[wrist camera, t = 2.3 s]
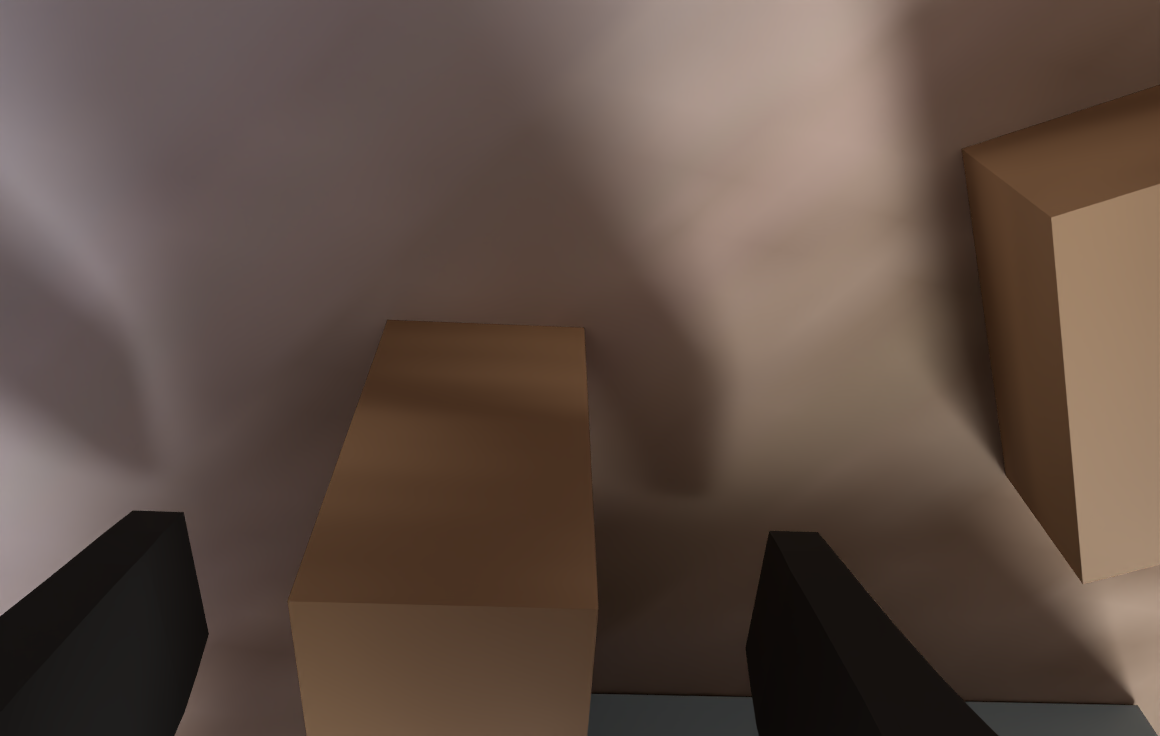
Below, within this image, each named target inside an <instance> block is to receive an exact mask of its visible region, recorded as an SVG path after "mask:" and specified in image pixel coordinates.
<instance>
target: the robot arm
mask: <svg viewBox="0 0 1160 736" xmlns="http://www.w3.org/2000/svg"><path fill="white" fill-rule="evenodd" d="M208 634H209V633H208V628H207V623H206V618H205V614H204V609H203V604H202V599H201V594H200V589H199V585H198V580H197V575H196V570H195V565H194V560H193V556H192V551H191V546H190V541H189V536H188V531H187V526H186V522H185V517H184V512H158V511H132V512H131V513H129V514H128V515H127V516H125V517H124V518H123V519H121V520H120V521H119V522H117V523H116V524H115V525H114V526H112V527H111V528H110V529H109V530H107V531H106V532H105V533H104V534H102V535H101V536H100V537H99V538H97V539H96V540H95V541H94V542H92V543H91V544H90V545H89V546H88V547H86V548H85V549H84V550H83V551H81V552H80V553H79V554H78V555H76V556H75V557H74V558H73V559H72V560H70V561H69V562H68V563H67V564H65V565H64V566H63V567H62V568H60V569H59V570H58V571H57V572H56V573H54V574H53V575H52V576H51V577H49V578H48V579H47V580H46V581H44V582H43V583H42V584H41V585H39V586H38V587H37V588H36V589H34V590H33V591H32V592H30V593H29V594H28V595H27V596H25V597H24V598H23V599H22V600H20V601H19V602H18V603H17V604H15V605H14V606H13V607H11V608H10V609H9V610H8V611H6V612H5V613H4V614H3V615H1V616H0V736H174V735H175V733H176V730H177V728H178V726H179V723H180V721H181V719H182V717H183V714H184V712H185V709H186V706H187V703H188V700H189V697H190V694H191V690H192V687H193V684H194V681H195V678H196V675H197V672H198V668H199V665H200V661H201V658H202V655H203V651H204V648H205V645H206V641H207V638H208ZM746 655H747V663H748V671H749V678H750V686H751V693H752V700H753V707H754V713H755V720H756V726H757V730H758V734H759V736H998V735H997V734H996V733H995V732H994V731H993V730H992V729H991V728H990V727H989V726H988V725H987V724H986V723H985V722H984V721H983V720H982V719H981V718H980V717H979V716H978V715H977V714H976V713H975V712H974V711H973V710H972V709H971V708H970V707H969V706H968V705H967V704H966V703H965V702H964V701H963V699H962V698H961V697H960V696H959V695H958V694H957V693H956V692H955V691H954V690H953V689H952V688H951V687H950V686H949V685H948V684H947V683H946V682H945V681H944V680H943V678H942V677H941V676H940V675H939V674H938V673H937V672H936V671H935V670H934V669H933V668H932V666H931V665H930V664H929V663H928V662H927V661H926V660H925V659H924V657H923V656H922V655H921V654H920V653H919V652H918V651H917V650H916V648H915V647H914V646H913V645H912V644H911V643H910V642H909V641H908V640H907V638H906V637H905V636H904V635H903V634H902V633H901V632H900V631H899V629H898V628H897V627H896V626H895V625H894V624H893V622H892V621H891V620H890V619H889V618H888V617H887V615H886V614H885V613H884V612H883V611H882V609H881V608H880V607H879V606H878V605H877V603H876V602H875V601H874V600H873V599H872V597H871V596H870V595H869V594H868V593H867V591H866V590H865V589H864V588H863V587H862V585H861V584H860V583H859V582H858V580H857V579H856V578H855V577H854V576H853V574H852V573H851V572H850V571H849V569H848V568H847V567H846V566H845V565H844V563H843V562H842V561H841V560H840V558H839V557H838V556H837V555H836V553H835V552H834V551H833V550H832V549H831V547H830V546H829V545H828V544H827V543H826V541H825V540H824V539H823V538H822V537H821V536H820V534H819V533H818V532H789V531H769V535H768V540H767V545H766V550H765V555H764V560H763V565H762V569H761V574H760V579H759V584H758V589H757V594H756V599H755V604H754V609H753V614H752V619H751V624H750V629H749V634H748V638H747V643H746Z"/></svg>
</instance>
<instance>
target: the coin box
mask: <svg viewBox="0 0 1160 736" xmlns="http://www.w3.org/2000/svg"><path fill="white" fill-rule="evenodd" d="M965 703H966V704H967V705H968V706H969V707H970V708H971V709H972V710H973V711H974V712H975V713H976V714H977V715H978V716H979V717H980V718H981V719H982V720H983V721H984V722H985V723H986V724H987V725H988V726H989V727H990V728H991V729H992V730H993V731H994V732H995V733H996V734H997V735H998V736H1158V735H1157V734H1156V732H1155V731H1154V729H1153V728H1152V726H1151V725H1150V723H1149V722H1148V720H1147V719H1146V717H1145V716H1144V714H1143V713H1142V711H1141V710H1140V708H1139V707H1138V705H1098V704H1051V703H1003V702H965ZM587 736H759V734H758V730H757V726H756V720H755V713H754V707H753V700H752V697H719V696H672V695H624V694H591V700H590V711H589V723H588V734H587Z"/></svg>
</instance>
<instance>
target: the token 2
mask: <svg viewBox="0 0 1160 736" xmlns="http://www.w3.org/2000/svg"><path fill="white" fill-rule="evenodd" d="M962 155H963V162H964V169H965V177H966V184H967V192H968V199H969V206H970V214H971V221H972V229H973V236H974V244H975V251H976V258H977V266H978V273H979V281H980V288H981V295H982V303H983V310H984V318H985V325H986V332H987V340H988V347H989V355H990V362H991V370H992V377H993V384H994V392H995V399H996V407H997V414H998V421H999V429H1000V436H1001V444H1002V451H1003V458H1004V466H1005V473H1006V476H1007V478H1008V479H1009V480H1010V482H1011V483H1012V485H1013V486H1014V488H1015V489H1016V490H1017V492H1018V493H1019V495H1020V496H1021V497H1022V499H1023V500H1024V502H1025V503H1026V504H1027V506H1028V507H1029V509H1030V510H1031V512H1032V513H1033V514H1034V516H1035V517H1036V519H1037V520H1038V521H1039V523H1040V524H1041V526H1042V527H1043V528H1044V530H1045V531H1046V533H1047V534H1048V536H1049V537H1050V538H1051V540H1052V541H1053V543H1054V544H1055V545H1056V547H1057V548H1058V550H1059V551H1060V552H1061V554H1062V555H1063V557H1064V558H1065V560H1066V561H1067V562H1068V564H1069V565H1070V567H1071V568H1072V569H1073V571H1074V572H1075V574H1076V575H1077V577H1078V578H1079V579H1080V581H1081V582H1082V584H1087V583H1090V582H1094V581H1098V580H1102V579H1106V578H1110V577H1114V576H1118V575H1122V574H1126V573H1130V572H1134V571H1138V570H1142V569H1146V568H1150V567H1153V566H1157V565H1160V85H1158V86H1155V87H1152V88H1149V89H1146V90H1142V91H1139V92H1136V93H1133V94H1130V95H1127V96H1124V97H1121V98H1118V99H1115V100H1112V101H1108V102H1105V103H1102V104H1099V105H1096V106H1093V107H1090V108H1087V109H1084V110H1081V111H1078V112H1074V113H1071V114H1068V115H1065V116H1062V117H1059V118H1056V119H1053V120H1050V121H1047V122H1044V123H1040V124H1037V125H1034V126H1031V127H1028V128H1025V129H1022V130H1019V131H1016V132H1013V133H1009V134H1006V135H1003V136H1000V137H997V138H994V139H991V140H988V141H985V142H982V143H979V144H975V145H972V146H969V147H966V148H963V149H962Z"/></svg>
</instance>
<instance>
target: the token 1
mask: <svg viewBox="0 0 1160 736" xmlns="http://www.w3.org/2000/svg"><path fill="white" fill-rule="evenodd" d="M287 602H288V609H289V616H290V623H291V630H292V637H293V644H294V651H295V658H296V665H297V672H298V679H299V686H300V693H301V700H302V708H303V715H304V722H305V729H306V736H587V734H588V723H589V711H590V700H591V688H592V677H593V666H594V654H595V643H596V632H597V620H598V590H597V571H596V551H595V531H594V511H593V491H592V471H591V451H590V432H589V412H588V392H587V372H586V352H585V332H584V328H580V327H554V326H529V325H503V324H478V323H452V322H427V321H401V320H387V323H386V326H385V329H384V331H383V334H382V337H381V340H380V343H379V345H378V348H377V351H376V354H375V357H374V359H373V362H372V365H371V368H370V371H369V373H368V376H367V379H366V382H365V385H364V388H363V390H362V393H361V396H360V399H359V402H358V404H357V407H356V410H355V413H354V416H353V418H352V421H351V424H350V427H349V430H348V433H347V435H346V438H345V441H344V444H343V447H342V449H341V452H340V455H339V458H338V461H337V463H336V466H335V469H334V472H333V475H332V478H331V480H330V483H329V486H328V489H327V492H326V494H325V497H324V500H323V503H322V506H321V508H320V511H319V514H318V517H317V520H316V522H315V525H314V528H313V531H312V534H311V537H310V539H309V542H308V545H307V548H306V551H305V553H304V556H303V559H302V562H301V565H300V567H299V570H298V573H297V576H296V579H295V582H294V584H293V587H292V590H291V593H290V596H289V598H288V601H287Z"/></svg>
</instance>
